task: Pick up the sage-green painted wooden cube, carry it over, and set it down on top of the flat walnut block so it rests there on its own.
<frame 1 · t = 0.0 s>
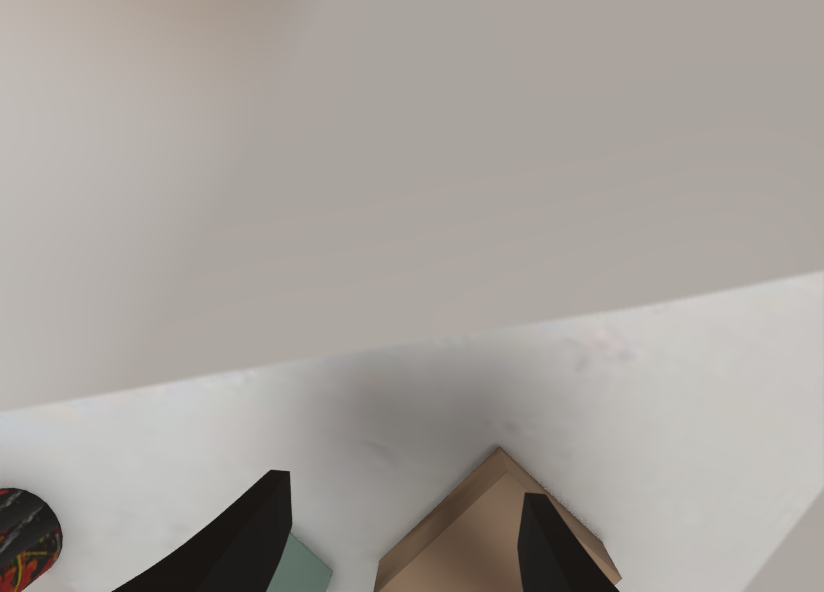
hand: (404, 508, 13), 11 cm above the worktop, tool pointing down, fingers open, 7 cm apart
deodorant: (20, 530, 26), on the worktop
sage cube: (275, 568, 25), on the worktop
walnut block: (487, 546, 24), on the worktop
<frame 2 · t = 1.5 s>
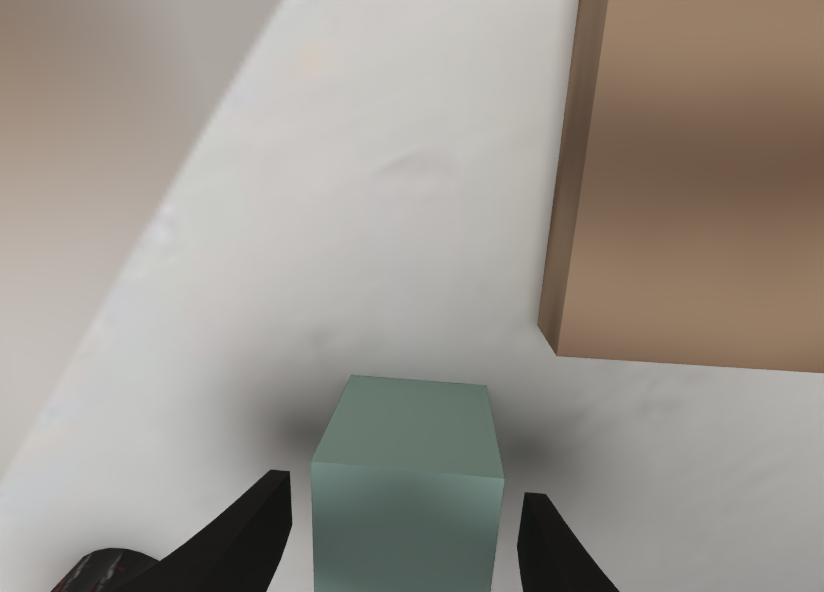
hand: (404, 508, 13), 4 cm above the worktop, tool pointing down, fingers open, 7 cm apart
sage cube: (415, 437, 16), on the worktop
walnut block: (681, 180, 13), on the worktop
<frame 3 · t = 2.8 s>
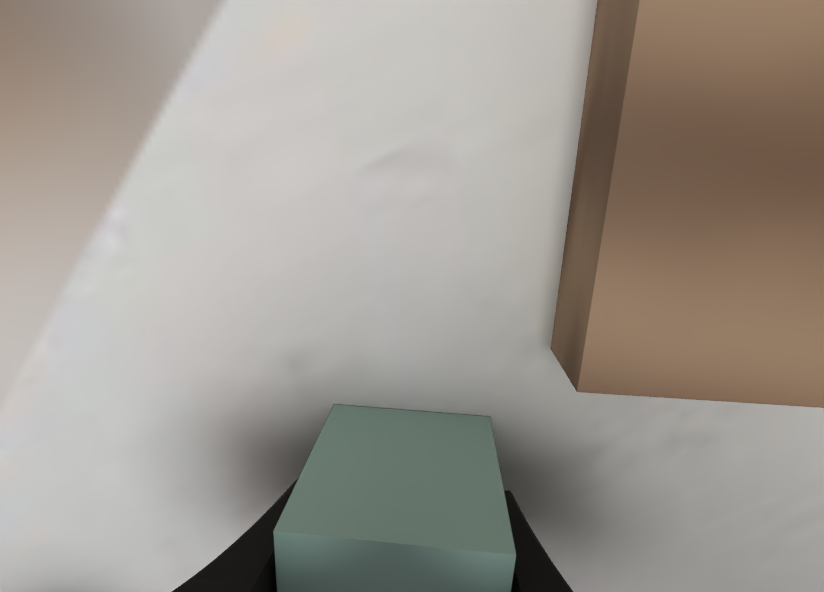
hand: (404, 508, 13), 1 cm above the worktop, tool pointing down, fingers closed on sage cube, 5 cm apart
sage cube: (407, 475, 14), on the worktop, touching gripper
walnut block: (722, 178, 11), on the worktop
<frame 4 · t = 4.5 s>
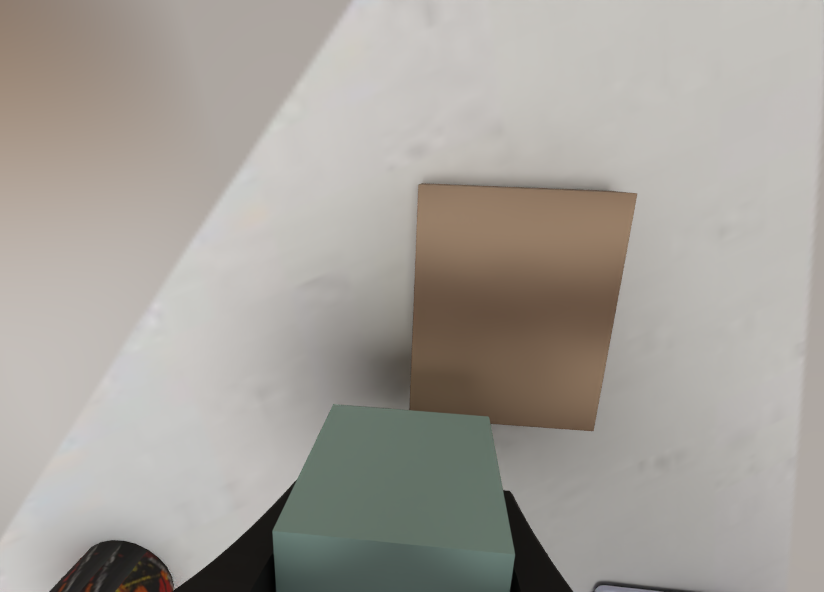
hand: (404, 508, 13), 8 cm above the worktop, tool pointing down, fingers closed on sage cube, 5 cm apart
deodorant: (129, 575, 26), on the worktop
sage cube: (407, 475, 14), point 7 cm above the worktop, touching gripper
walnut block: (502, 295, 20), on the worktop
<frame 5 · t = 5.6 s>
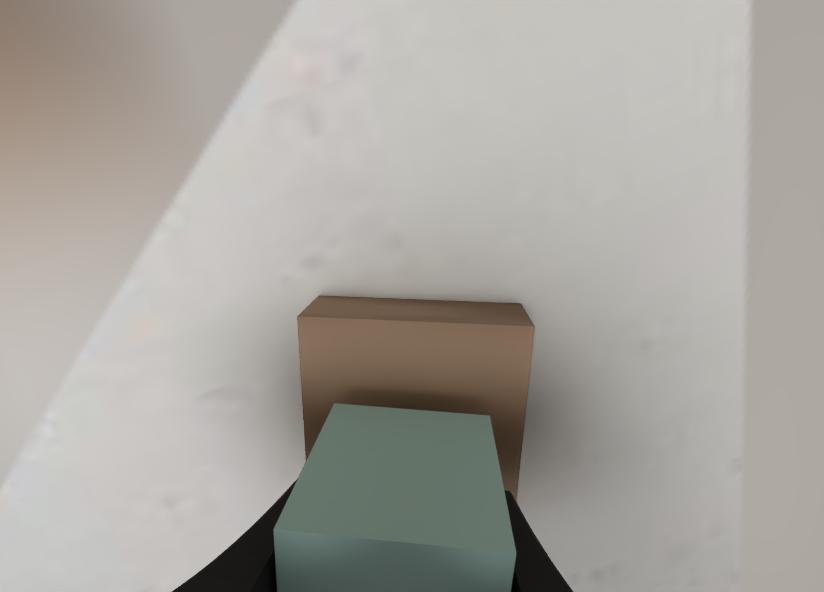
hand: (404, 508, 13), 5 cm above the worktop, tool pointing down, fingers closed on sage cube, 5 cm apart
sage cube: (407, 474, 14), point 4 cm above the worktop, touching gripper
walnut block: (416, 406, 18), on the worktop
when the fingers open (5 cm above the worktop, at t = 6.3 s): sage cube drops 1 cm, resting on walnut block.
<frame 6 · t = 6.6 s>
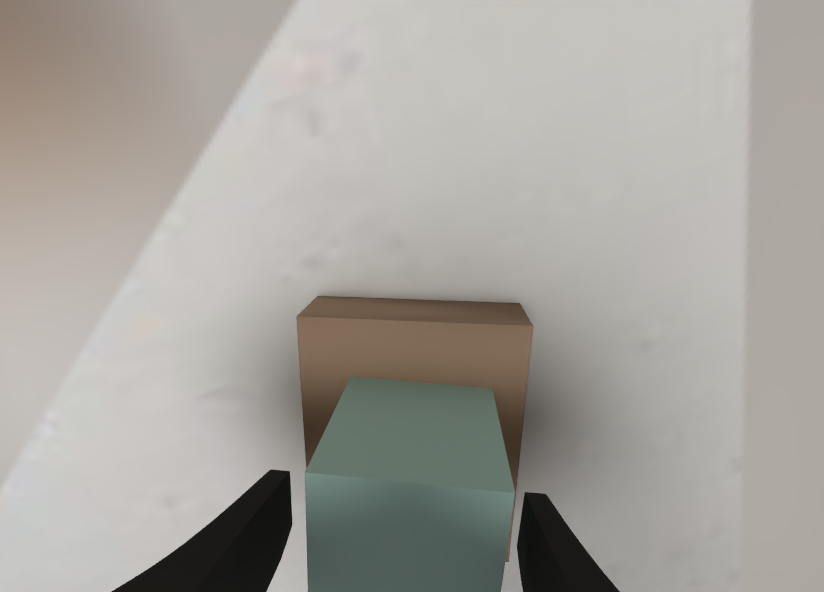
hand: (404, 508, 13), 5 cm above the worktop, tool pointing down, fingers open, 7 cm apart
sage cube: (416, 443, 15), point 2 cm above the worktop, touching walnut block
walnut block: (415, 405, 18), on the worktop, touching sage cube
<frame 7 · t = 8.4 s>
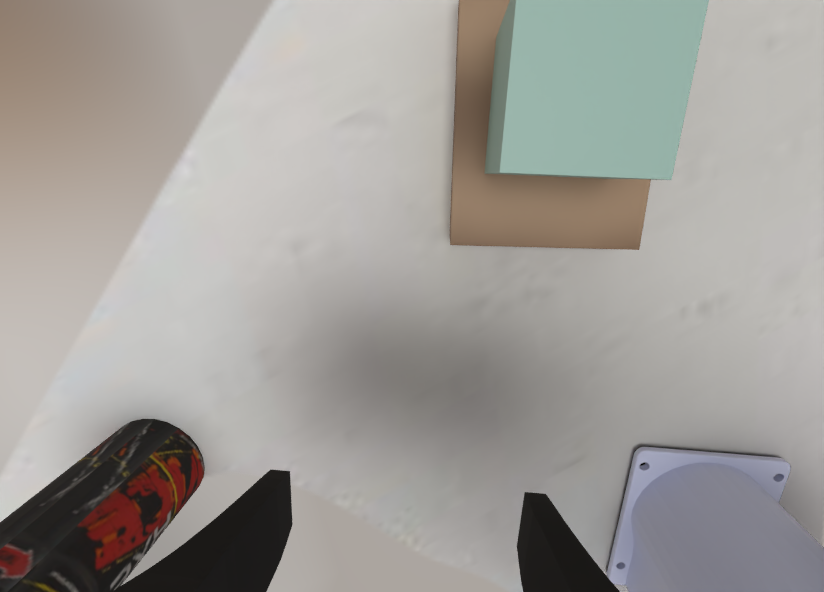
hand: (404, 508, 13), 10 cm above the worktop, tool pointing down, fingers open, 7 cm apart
deodorant: (159, 458, 26), on the worktop
sage cube: (553, 110, 16), point 2 cm above the worktop, touching walnut block
walnut block: (539, 130, 19), on the worktop, touching sage cube
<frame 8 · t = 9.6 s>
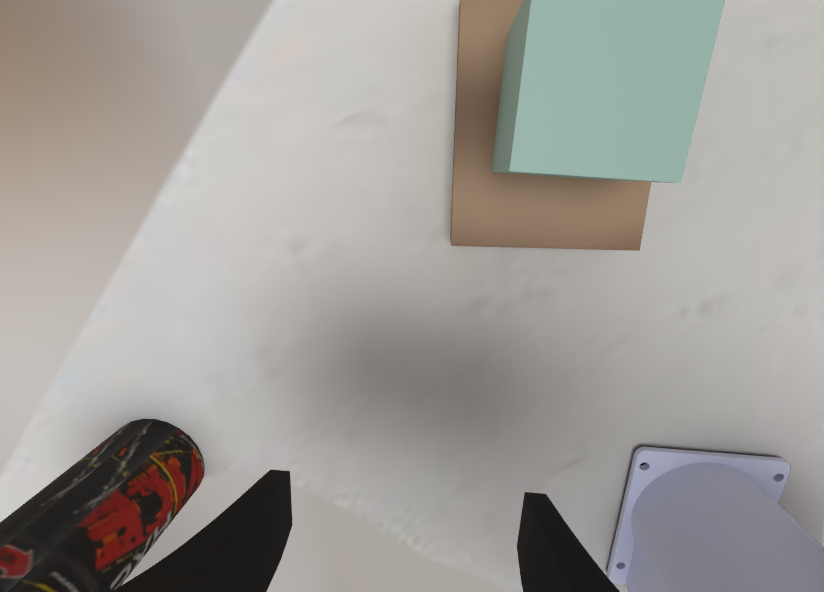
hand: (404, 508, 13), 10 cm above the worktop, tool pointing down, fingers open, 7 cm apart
deodorant: (159, 458, 26), on the worktop
sage cube: (562, 110, 16), point 2 cm above the worktop, touching walnut block
walnut block: (540, 131, 19), on the worktop, touching sage cube
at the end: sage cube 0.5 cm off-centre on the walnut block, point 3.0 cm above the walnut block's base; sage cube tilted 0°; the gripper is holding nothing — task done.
